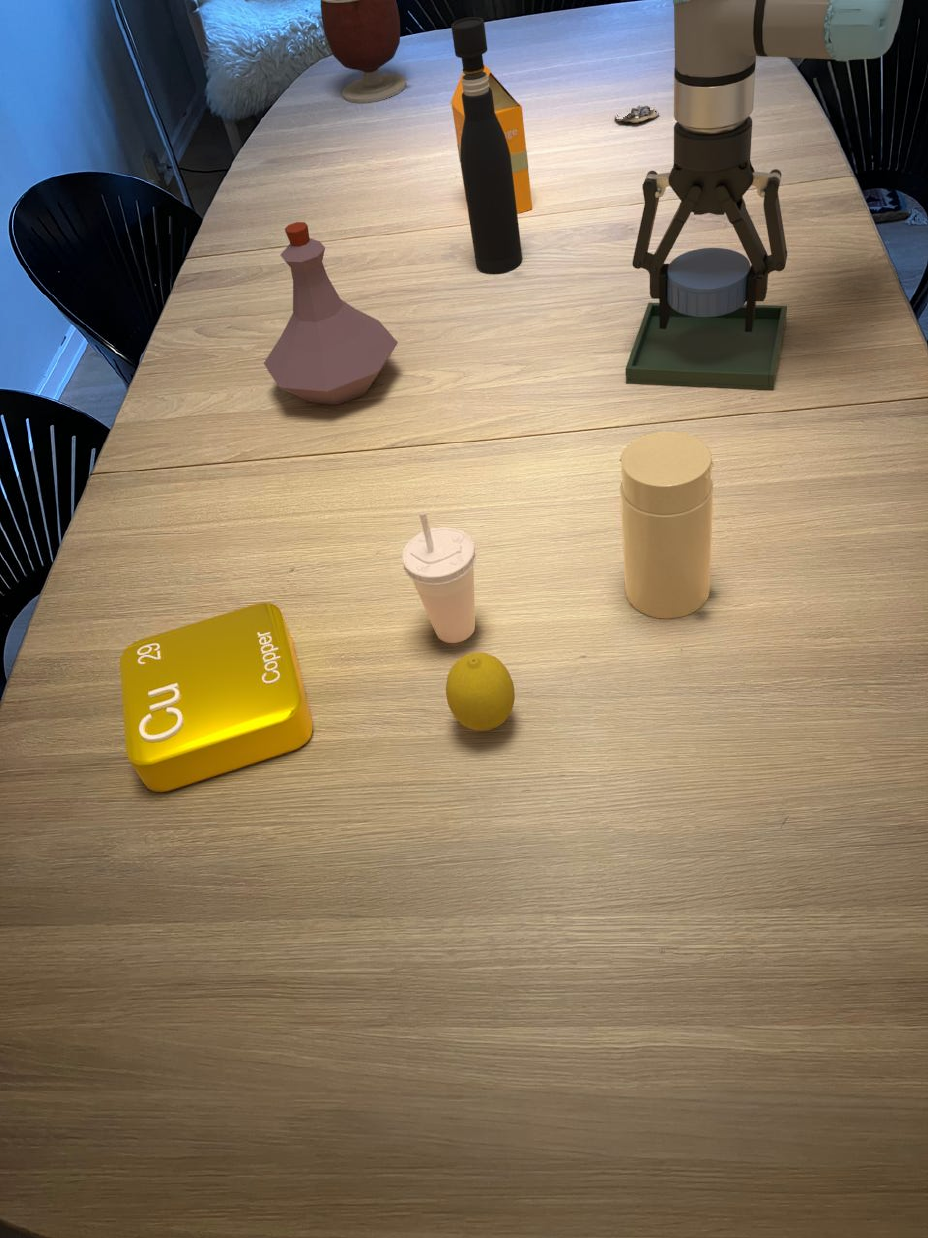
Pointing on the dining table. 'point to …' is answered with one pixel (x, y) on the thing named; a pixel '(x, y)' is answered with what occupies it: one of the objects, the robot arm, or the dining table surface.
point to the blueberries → (639, 114)
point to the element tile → (212, 697)
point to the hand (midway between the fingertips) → (706, 323)
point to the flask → (324, 333)
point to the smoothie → (444, 578)
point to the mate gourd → (364, 44)
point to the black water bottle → (485, 159)
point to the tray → (708, 349)
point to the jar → (667, 523)
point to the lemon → (480, 691)
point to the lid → (708, 282)
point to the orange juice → (512, 128)
